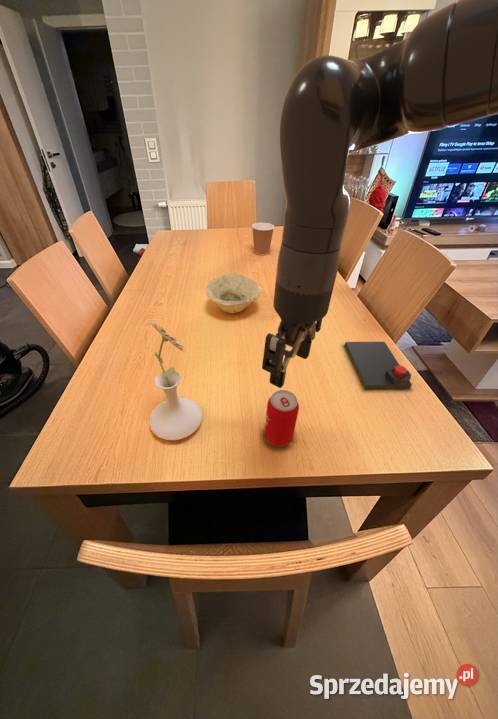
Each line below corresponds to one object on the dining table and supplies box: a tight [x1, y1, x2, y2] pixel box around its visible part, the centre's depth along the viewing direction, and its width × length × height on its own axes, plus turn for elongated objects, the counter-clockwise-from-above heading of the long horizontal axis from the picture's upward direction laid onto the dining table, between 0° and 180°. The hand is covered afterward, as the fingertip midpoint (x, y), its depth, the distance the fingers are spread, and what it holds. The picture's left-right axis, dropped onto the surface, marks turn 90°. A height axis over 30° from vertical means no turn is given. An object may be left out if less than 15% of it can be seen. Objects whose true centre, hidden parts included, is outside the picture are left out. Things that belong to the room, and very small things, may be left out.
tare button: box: [393, 365, 408, 378], centre depth 77 cm, size 3×3×2 cm
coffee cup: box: [251, 222, 275, 256], centre depth 140 cm, size 10×10×12 cm
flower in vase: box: [148, 319, 203, 441], centre depth 60 cm, size 13×11×25 cm
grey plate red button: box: [343, 341, 413, 391], centre depth 83 cm, size 18×12×4 cm, turn 3°
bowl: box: [205, 273, 261, 314], centre depth 100 cm, size 14×18×15 cm
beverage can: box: [263, 389, 300, 448], centre depth 62 cm, size 6×6×12 cm
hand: (289, 369), depth 49 cm, fingers open, 8 cm apart
